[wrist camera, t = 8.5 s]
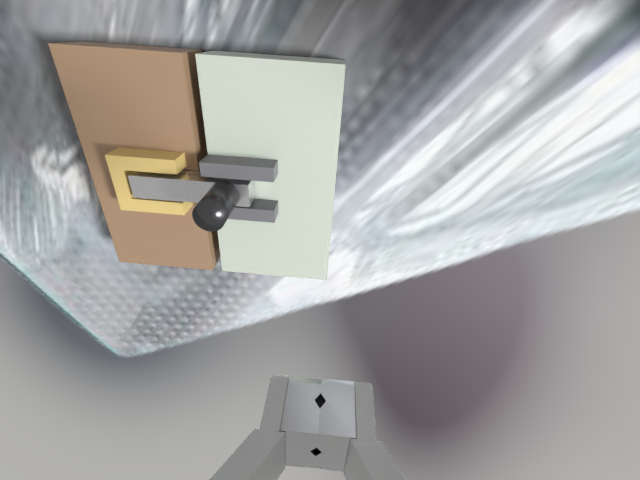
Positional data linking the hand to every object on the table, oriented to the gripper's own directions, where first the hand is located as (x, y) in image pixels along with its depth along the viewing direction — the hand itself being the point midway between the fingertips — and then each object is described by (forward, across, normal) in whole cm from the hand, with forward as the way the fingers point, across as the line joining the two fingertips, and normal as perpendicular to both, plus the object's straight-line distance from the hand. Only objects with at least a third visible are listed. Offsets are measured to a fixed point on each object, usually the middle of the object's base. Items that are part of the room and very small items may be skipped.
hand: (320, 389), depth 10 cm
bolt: (+21, +12, +3) cm, 24 cm away
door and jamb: (+25, +12, +3) cm, 28 cm away
